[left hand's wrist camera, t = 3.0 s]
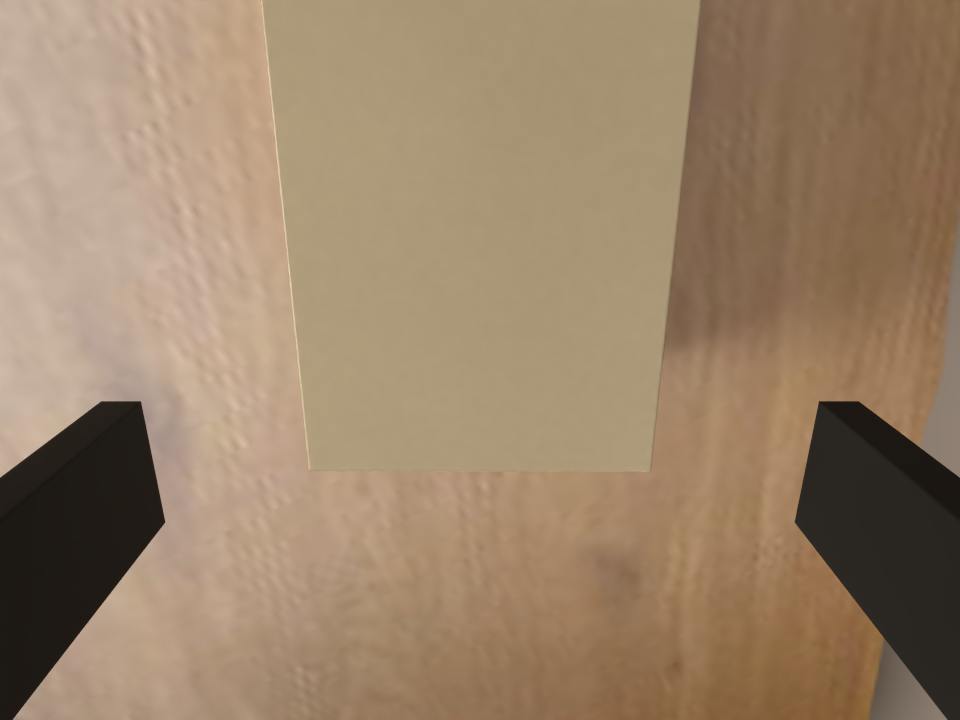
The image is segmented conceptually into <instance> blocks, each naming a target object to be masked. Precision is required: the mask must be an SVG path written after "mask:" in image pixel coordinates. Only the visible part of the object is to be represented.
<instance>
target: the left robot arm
mask: <svg viewBox="0 0 960 720" xmlns="http://www.w3.org/2000/svg"><path fill="white" fill-rule="evenodd" d="M164 523H165V519H164V514H163V509H162V504H161V499H160V494H159V489H158V484H157V479H156V474H155V469H154V464H153V459H152V454H151V449H150V444H149V439H148V434H147V429H146V424H145V420H144V415H143V410H142V405H141V401H101V402H100V403H99V404H97V405H96V406H95V407H93V408H92V409H91V410H89V411H88V412H87V413H85V414H84V415H83V416H81V417H80V418H79V419H77V420H76V421H75V422H73V423H72V424H71V425H69V426H68V427H67V428H66V429H64V430H63V431H62V432H60V433H59V434H58V435H56V436H55V437H54V438H52V439H51V440H50V441H48V442H47V443H46V444H44V445H43V446H42V447H40V448H39V449H38V450H36V451H35V452H34V453H32V454H31V455H30V456H28V457H27V458H26V459H24V460H23V461H22V462H20V463H19V464H18V465H17V466H15V467H14V468H13V469H11V470H10V471H9V472H7V473H6V474H5V475H3V476H2V477H1V478H0V720H13V718H14V717H15V716H16V714H17V713H18V712H19V711H20V709H21V708H22V707H23V705H24V704H25V703H26V702H27V700H28V699H29V698H30V696H31V695H32V694H33V692H34V691H35V690H36V689H37V687H38V686H39V685H40V683H41V682H42V681H43V680H44V678H45V677H46V676H47V674H48V673H49V672H50V671H51V669H52V668H53V667H54V665H55V664H56V663H57V661H58V660H59V659H60V658H61V656H62V655H63V654H64V652H65V651H66V650H67V649H68V647H69V646H70V645H71V643H72V642H73V641H74V639H75V638H76V637H77V636H78V634H79V633H80V632H81V630H82V629H83V628H84V627H85V625H86V624H87V623H88V621H89V620H90V619H91V618H92V616H93V615H94V614H95V612H96V611H97V610H98V608H99V607H100V606H101V605H102V603H103V602H104V601H105V599H106V598H107V597H108V596H109V594H110V593H111V592H112V590H113V589H114V588H115V587H116V585H117V584H118V583H119V581H120V580H121V579H122V577H123V576H124V575H125V574H126V572H127V571H128V570H129V568H130V567H131V566H132V565H133V563H134V562H135V561H136V559H137V558H138V557H139V556H140V554H141V553H142V552H143V550H144V549H145V548H146V546H147V545H148V544H149V543H150V541H151V540H152V539H153V537H154V536H155V535H156V534H157V532H158V531H159V530H160V528H161V527H162V526H163V525H164ZM795 523H796V525H797V526H798V527H799V528H800V530H801V531H802V532H803V534H804V535H805V536H806V537H807V539H808V540H809V541H810V543H811V544H812V545H813V546H814V548H815V549H816V550H817V552H818V553H819V554H820V556H821V557H822V558H823V559H824V561H825V562H826V563H827V565H828V566H829V567H830V568H831V570H832V571H833V572H834V574H835V575H836V576H837V577H838V579H839V580H840V581H841V583H842V584H843V585H844V587H845V588H846V589H847V590H848V592H849V593H850V594H851V596H852V597H853V598H854V599H855V601H856V602H857V603H858V605H859V606H860V607H861V608H862V610H863V611H864V612H865V614H866V615H867V616H868V618H869V619H870V620H871V621H872V623H873V624H874V625H875V627H876V628H877V629H878V630H879V632H880V633H881V634H882V636H883V637H884V638H885V639H886V641H887V642H888V643H889V645H890V646H891V647H892V649H893V650H894V651H895V652H896V654H897V655H898V656H899V657H900V659H901V660H902V661H903V663H904V664H905V665H906V667H907V668H908V669H909V670H910V672H911V673H912V674H913V676H914V677H915V678H916V680H917V681H918V682H919V683H920V685H921V686H922V687H923V689H924V690H925V691H926V692H927V694H928V695H929V696H930V698H931V699H932V700H933V702H934V703H935V704H936V705H937V707H938V708H939V709H940V710H941V712H942V713H943V714H944V716H945V717H946V718H947V720H960V478H959V477H958V476H957V475H955V474H954V473H953V472H951V471H950V470H949V469H947V468H946V467H945V466H943V465H942V464H941V463H940V462H938V461H937V460H935V459H934V458H933V457H932V456H930V455H929V454H928V453H926V452H925V451H924V450H922V449H921V448H920V447H918V446H917V445H916V444H914V443H913V442H912V441H910V440H909V439H908V438H906V437H905V436H904V435H902V434H901V433H900V432H898V431H897V430H896V429H894V428H893V427H892V426H891V425H889V424H888V423H887V422H885V421H884V420H883V419H881V418H880V417H879V416H877V415H876V414H875V413H873V412H872V411H871V410H869V409H868V408H867V407H865V406H864V405H863V404H861V403H860V402H859V401H819V405H818V410H817V415H816V420H815V424H814V429H813V434H812V439H811V444H810V449H809V454H808V459H807V464H806V469H805V474H804V479H803V484H802V489H801V494H800V499H799V504H798V509H797V514H796V519H795Z"/></svg>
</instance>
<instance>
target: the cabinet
mask: <svg viewBox="0 0 960 720" xmlns="http://www.w3.org/2000/svg"><path fill="white" fill-rule="evenodd" d="M261 8H262V17H263V27H264V37H265V46H266V56H267V66H268V76H269V85H270V95H271V105H272V114H273V124H274V134H275V143H276V153H277V163H278V173H279V182H280V192H281V202H282V211H283V221H284V231H285V241H286V250H287V260H288V270H289V279H290V289H291V299H292V309H293V318H294V328H295V338H296V347H297V357H298V367H299V377H300V386H301V396H302V406H303V415H304V425H305V435H306V444H307V454H308V464H309V470H310V471H537V472H649V471H651V465H652V456H653V446H654V437H655V428H656V419H657V409H658V400H659V391H660V381H661V372H662V363H663V354H664V344H665V335H666V326H667V316H668V307H669V298H670V289H671V279H672V270H673V261H674V251H675V242H676V233H677V223H678V214H679V205H680V196H681V186H682V177H683V168H684V158H685V149H686V140H687V131H688V121H689V112H690V103H691V93H692V84H693V75H694V66H695V56H696V47H697V38H698V28H699V19H700V10H701V0H261Z"/></svg>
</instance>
